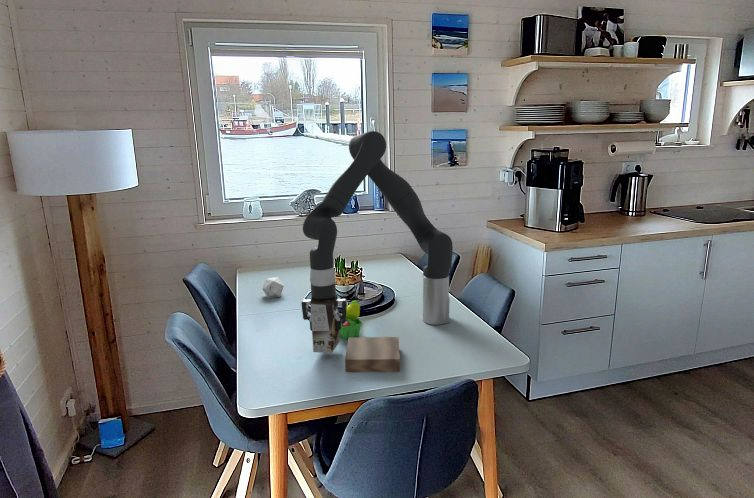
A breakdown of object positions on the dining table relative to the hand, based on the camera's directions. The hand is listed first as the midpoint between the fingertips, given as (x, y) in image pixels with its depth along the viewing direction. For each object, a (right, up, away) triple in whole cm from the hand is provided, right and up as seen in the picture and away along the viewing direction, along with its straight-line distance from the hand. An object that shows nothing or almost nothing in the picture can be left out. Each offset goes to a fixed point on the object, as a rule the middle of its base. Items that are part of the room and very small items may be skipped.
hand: (325, 331), depth 159 cm
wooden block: (+15, -8, -2) cm, 17 cm away
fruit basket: (+6, -4, +17) cm, 19 cm away
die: (-27, +6, +54) cm, 61 cm away
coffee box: (0, -5, +2) cm, 6 cm away
